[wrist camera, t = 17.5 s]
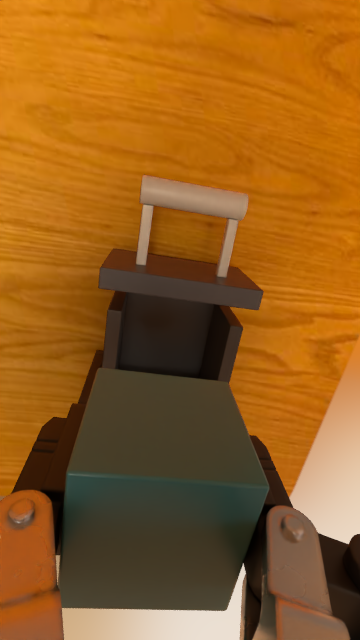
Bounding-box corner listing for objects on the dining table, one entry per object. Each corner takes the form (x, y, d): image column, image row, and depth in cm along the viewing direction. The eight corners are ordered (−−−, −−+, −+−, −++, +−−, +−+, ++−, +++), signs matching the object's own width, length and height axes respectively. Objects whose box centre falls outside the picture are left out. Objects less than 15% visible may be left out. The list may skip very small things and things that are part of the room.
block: (97, 366, 11) (65, 472, 7) (228, 380, 12) (271, 486, 7) (87, 470, 13) (54, 609, 8) (203, 479, 13) (227, 612, 9)
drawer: (120, 172, 22) (108, 166, 16) (254, 197, 23) (288, 199, 17) (100, 375, 27) (86, 425, 21) (210, 387, 28) (225, 437, 23)
